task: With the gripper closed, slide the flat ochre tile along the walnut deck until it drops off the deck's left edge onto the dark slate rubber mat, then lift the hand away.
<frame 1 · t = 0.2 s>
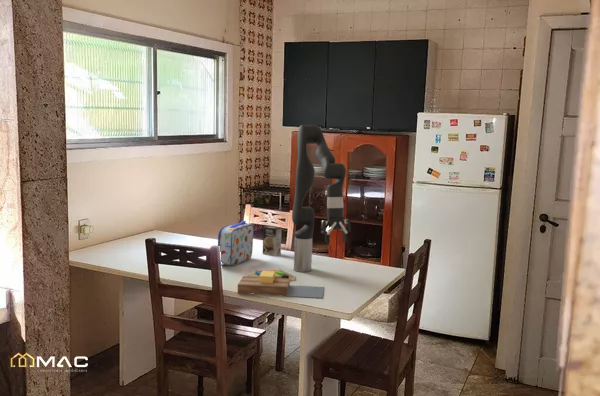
hand: (336, 242, 253), 22 cm above the table, tool pointing down, fingers open, 8 cm apart
lunch box: (235, 262, 301), on the table
ochre tile: (267, 276, 254), point 5 cm above the table, touching walnut deck
slate mat: (305, 292, 251), on the table
walnut deck: (264, 289, 253), on the table
wooden puzzle: (271, 279, 272), on the table
coffee box: (271, 254, 321), on the table
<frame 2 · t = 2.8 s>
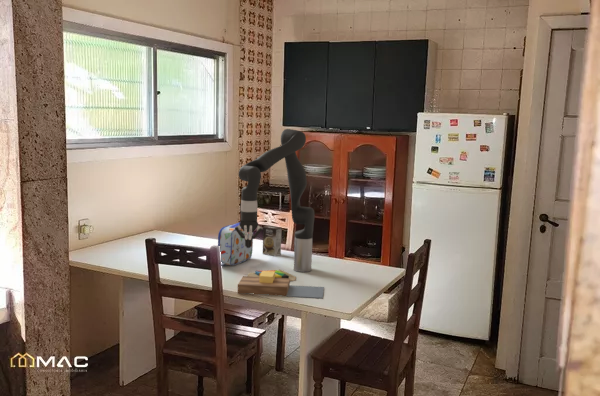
hand: (248, 247, 253), 19 cm above the table, tool pointing down, fingers closed
nothing on the table moved.
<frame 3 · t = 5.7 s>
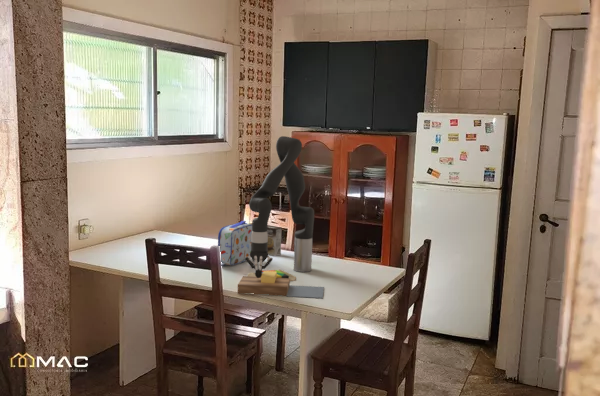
hand: (258, 277, 255), 5 cm above the table, tool pointing down, fingers closed
ochre tile: (269, 277, 254), point 6 cm above the table, touching gripper, walnut deck
everything else where it was.
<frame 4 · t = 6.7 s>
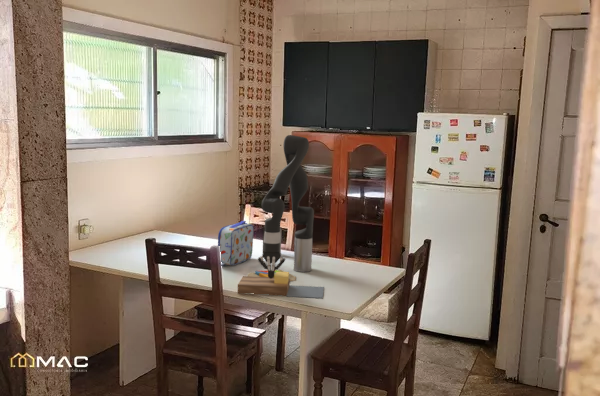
hand: (271, 278, 254), 5 cm above the table, tool pointing down, fingers closed
ochre tile: (281, 277, 254), point 5 cm above the table, touching walnut deck
everything else where it was.
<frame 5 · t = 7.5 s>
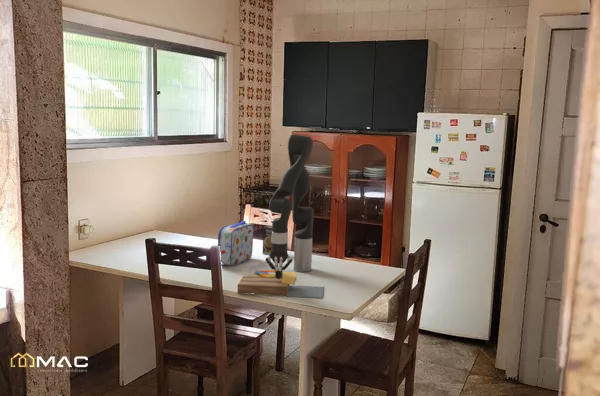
hand: (278, 278, 254), 5 cm above the table, tool pointing down, fingers closed
ochre tile: (289, 277, 254), point 6 cm above the table, touching gripper, walnut deck
everything else where it was.
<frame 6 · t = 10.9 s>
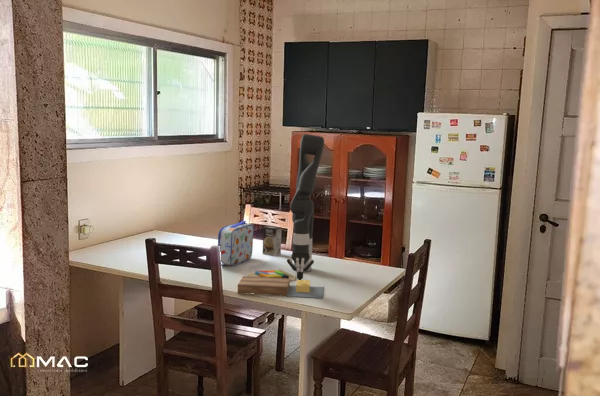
hand: (299, 279, 253), 5 cm above the table, tool pointing down, fingers closed
ochre tile: (303, 286, 254), point 2 cm above the table, tilted 180°, touching slate mat
everything else where it was.
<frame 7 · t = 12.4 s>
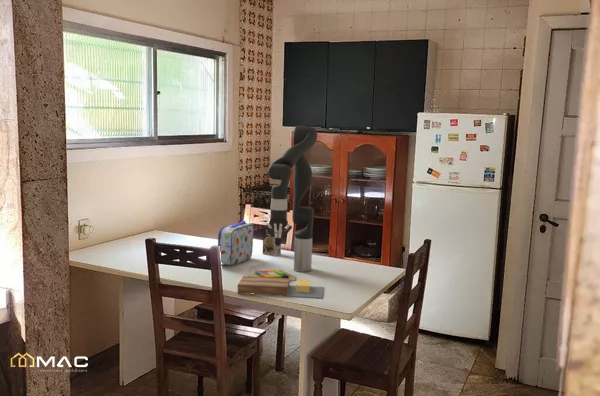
hand: (277, 245, 253), 20 cm above the table, tool pointing down, fingers closed
nothing on the table moved.
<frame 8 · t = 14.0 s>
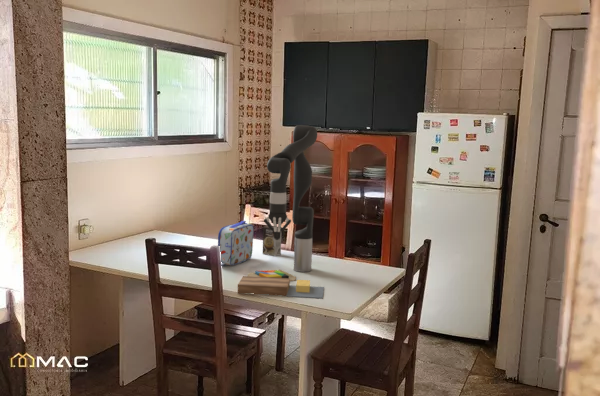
hand: (277, 239, 253), 23 cm above the table, tool pointing down, fingers closed
nothing on the table moved.
at the end: ochre tile inside the target area on the slate mat (3.2 cm from its centre), point 1.9 cm above the slate mat's base; ochre tile point 1.9 cm above the table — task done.
